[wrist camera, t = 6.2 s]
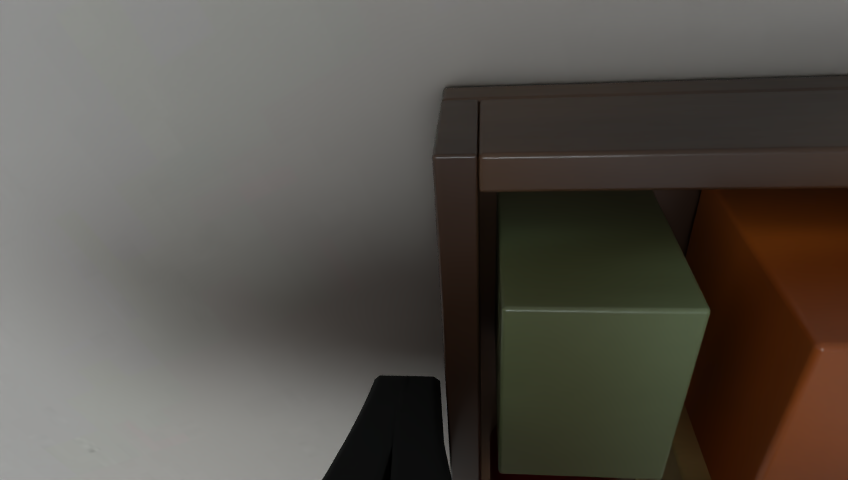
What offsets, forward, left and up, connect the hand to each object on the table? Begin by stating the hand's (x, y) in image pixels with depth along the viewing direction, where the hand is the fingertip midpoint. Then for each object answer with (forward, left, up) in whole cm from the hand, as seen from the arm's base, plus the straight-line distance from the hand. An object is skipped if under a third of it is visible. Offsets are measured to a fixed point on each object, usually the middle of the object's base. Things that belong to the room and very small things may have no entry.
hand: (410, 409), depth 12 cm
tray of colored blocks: (-5, 0, -2) cm, 5 cm away
